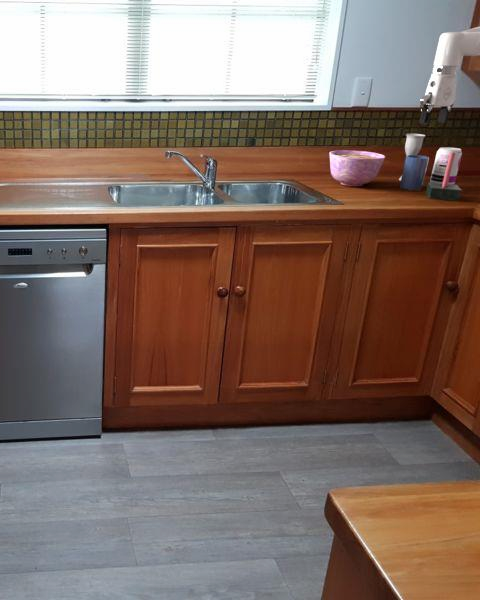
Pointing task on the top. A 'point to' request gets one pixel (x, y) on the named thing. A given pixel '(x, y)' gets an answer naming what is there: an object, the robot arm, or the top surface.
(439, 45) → the robot arm
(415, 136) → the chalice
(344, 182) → the bowl of food
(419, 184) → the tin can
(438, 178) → the supplement can
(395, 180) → the top surface
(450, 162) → the straw
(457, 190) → the straw stand
